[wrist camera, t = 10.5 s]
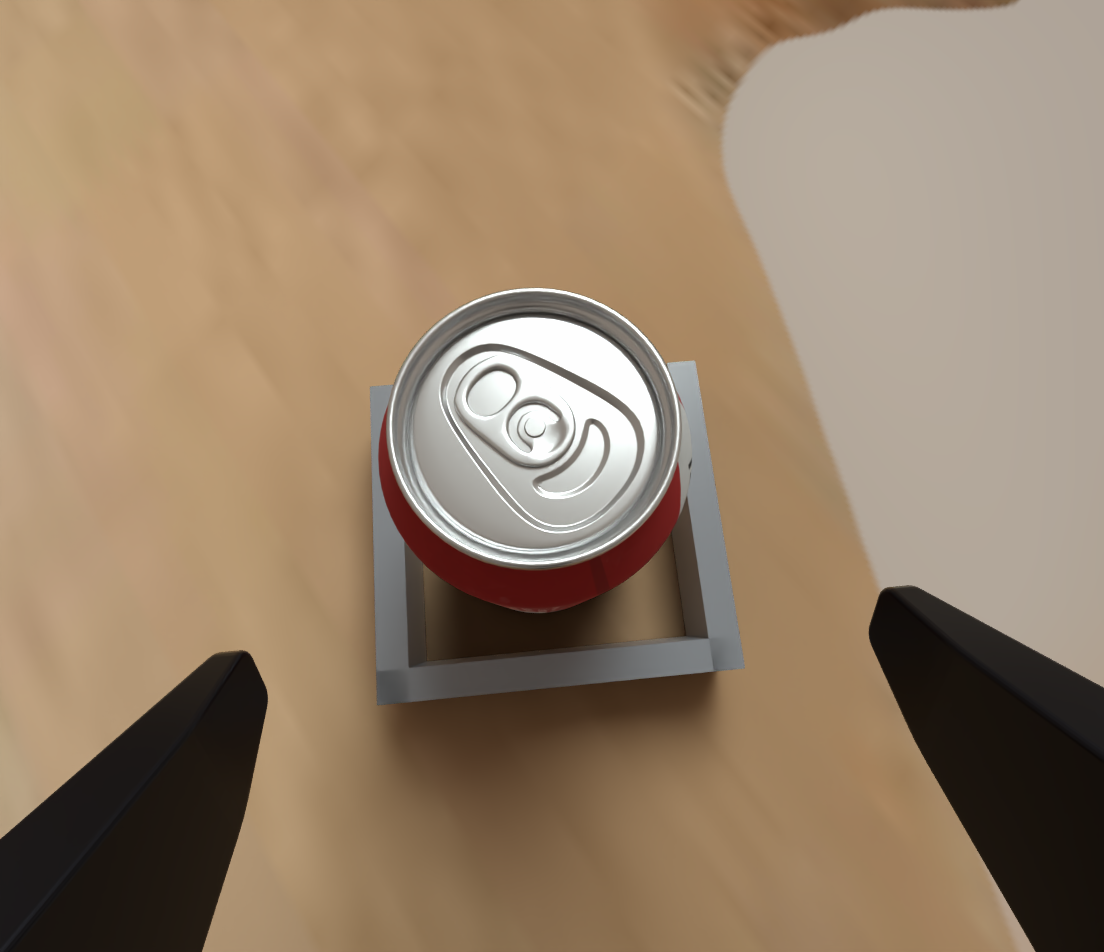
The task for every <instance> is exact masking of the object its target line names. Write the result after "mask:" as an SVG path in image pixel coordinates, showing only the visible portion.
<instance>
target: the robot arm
mask: <svg viewBox="0 0 1104 952" xmlns="http://www.w3.org/2000/svg"><path fill="white" fill-rule="evenodd" d="M869 639H870V643H871V645H872V648H873V650H874V652H875V655H876V657H877V659H878V661H879V663H880V666H881V668H882V670H883V672H884V674H885V677H886V679H887V681H888V683H889V686H890V688H891V690H892V692H893V694H894V697H895V699H896V701H897V703H898V706H899V708H900V710H901V712H902V714H903V717H904V719H905V721H906V723H907V725H908V728H909V730H910V732H911V734H912V736H913V738H914V740H915V742H916V744H917V746H918V748H919V749H920V751H921V753H922V755H923V757H924V759H925V760H926V762H927V764H928V766H929V767H930V769H931V771H932V773H933V774H934V776H935V778H936V780H937V781H938V783H939V785H940V786H941V788H942V790H943V792H944V793H945V795H946V797H947V799H948V800H949V802H950V804H951V806H952V807H953V809H954V811H955V813H956V814H957V816H958V818H959V819H960V821H961V823H962V825H963V826H964V828H965V830H966V832H967V833H968V835H969V837H970V839H971V840H972V842H973V844H974V846H975V847H976V849H977V851H978V852H979V854H980V856H981V858H982V859H983V861H984V863H985V865H986V866H987V868H988V870H989V872H990V873H991V875H992V877H993V879H994V880H995V882H996V884H997V885H998V887H999V889H1000V891H1001V892H1002V894H1003V896H1004V898H1005V899H1006V901H1007V903H1008V904H1009V906H1010V908H1011V910H1012V911H1013V913H1014V915H1015V917H1016V918H1017V920H1018V922H1019V924H1020V925H1021V927H1022V929H1023V930H1024V932H1025V934H1026V936H1027V937H1028V939H1029V941H1030V943H1031V945H1032V946H1033V948H1034V950H1035V951H1036V952H1104V688H1103V687H1101V686H1100V685H1098V684H1096V683H1094V682H1092V681H1090V680H1088V679H1086V678H1085V677H1083V676H1081V675H1079V674H1077V673H1076V672H1073V671H1072V670H1070V669H1068V668H1066V667H1064V666H1063V665H1061V664H1059V663H1057V662H1055V661H1053V660H1052V659H1050V658H1048V657H1046V656H1044V655H1042V654H1040V653H1039V652H1037V651H1035V650H1033V649H1031V648H1029V647H1027V646H1026V645H1023V644H1022V643H1020V642H1018V641H1016V640H1015V639H1013V638H1011V637H1009V636H1007V635H1005V634H1003V633H1002V632H1000V631H998V630H996V629H994V628H992V627H990V626H989V625H987V624H985V623H983V622H981V621H979V620H977V619H976V618H974V617H972V616H970V615H968V614H966V613H964V612H963V611H961V610H959V609H957V608H955V607H953V606H952V605H950V604H947V603H946V602H944V601H942V600H940V599H939V598H936V597H935V596H933V595H931V594H929V593H927V592H925V591H924V590H922V589H920V588H918V587H915V586H909V585H907V586H896V587H887V588H885V589H883V590H882V591H881V592H880V595H879V597H878V600H877V604H876V607H875V610H874V613H873V616H872V619H871V622H870V626H869ZM267 704H268V694H267V689H266V686H265V684H264V682H263V680H262V678H261V675H260V673H259V671H258V669H257V667H256V665H255V662H254V660H253V658H252V656H251V655H250V654H249V653H248V652H247V651H243V650H239V651H229V652H220V653H216V654H214V655H212V656H211V657H210V658H208V659H207V660H206V661H205V662H204V663H203V664H201V665H200V666H199V667H198V668H197V669H196V670H195V671H193V672H192V673H191V674H190V675H189V676H188V677H186V678H185V679H184V680H183V681H182V682H181V683H180V684H178V685H177V686H176V687H175V688H174V689H173V690H171V691H170V692H169V693H168V694H167V695H166V696H165V697H163V698H162V699H161V700H160V701H159V702H158V703H157V704H155V705H154V706H153V707H152V708H151V709H150V710H148V711H147V712H146V713H145V714H144V715H143V716H142V717H140V718H139V719H138V720H137V721H136V722H135V723H133V724H132V725H131V726H130V727H129V728H128V729H127V730H125V731H124V732H123V733H122V734H121V735H120V736H119V737H117V738H116V739H115V740H114V741H113V742H112V743H110V744H109V745H108V746H107V747H106V748H105V749H104V750H102V751H101V752H100V753H99V754H98V755H97V756H96V757H94V758H93V759H92V760H91V761H90V762H89V763H87V764H86V765H85V766H84V767H83V768H82V769H81V770H79V771H78V772H77V773H76V774H75V775H74V776H72V777H71V778H70V779H69V780H68V781H67V782H66V783H64V784H63V785H62V786H61V787H60V788H59V789H58V790H56V791H55V792H54V793H53V794H52V795H51V796H49V797H48V798H47V799H46V800H45V801H44V802H43V803H41V804H40V805H39V806H38V807H37V808H36V809H34V810H33V811H32V812H31V813H30V814H29V815H28V816H26V817H25V818H24V819H23V820H22V821H21V822H20V823H18V824H17V825H16V826H15V827H14V828H13V829H11V830H10V831H9V832H8V833H7V834H6V835H5V836H3V837H2V838H1V839H0V952H202V950H203V947H204V943H205V940H206V937H207V934H208V931H209V928H210V924H211V921H212V918H213V915H214V912H215V909H216V905H217V902H218V899H219V896H220V893H221V890H222V886H223V883H224V880H225V877H226V874H227V871H228V867H229V864H230V861H231V858H232V855H233V852H234V848H235V845H236V842H237V839H238V836H239V832H240V829H241V825H242V822H243V819H244V815H245V810H246V806H247V802H248V798H249V793H250V788H251V783H252V778H253V773H254V768H255V763H256V759H257V754H258V749H259V744H260V739H261V734H262V729H263V724H264V719H265V715H266V710H267Z"/></svg>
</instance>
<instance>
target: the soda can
mask: <svg viewBox="0 0 1104 952" xmlns="http://www.w3.org/2000/svg"><path fill="white" fill-rule="evenodd" d="M378 464H379V476H380V482H381V488H382V492H383V496H384V499H385V503H386V505H387V508H388V511H389V513H390V516H391V518H392V520H393V522H394V524H395V526H396V528H397V530H398V532H399V533H400V535H401V536H402V538H403V539H404V541H405V542H406V544H407V545H408V546H409V548H410V549H411V550H412V551H413V553H414V554H415V555H416V556H417V557H418V558H419V559H420V560H421V561H422V562H423V563H424V564H425V565H426V566H427V567H428V568H429V569H430V570H431V571H433V572H434V573H435V574H436V575H437V576H439V577H440V578H441V579H443V580H444V581H446V582H447V583H449V584H450V585H452V586H454V587H455V588H457V589H459V590H461V591H463V592H465V593H467V594H469V595H472V596H474V597H477V598H479V599H482V600H484V601H488V602H491V603H494V604H497V605H500V606H503V607H506V608H510V609H513V610H517V611H522V612H527V613H549V612H556V611H560V610H564V609H567V608H570V607H573V606H575V605H578V604H580V603H582V602H585V601H587V600H589V599H591V598H594V597H596V596H598V595H600V594H602V593H605V592H607V591H609V590H611V589H612V588H614V587H616V586H618V585H619V584H621V583H623V582H624V581H626V580H627V579H628V578H630V577H631V576H632V575H634V574H635V573H636V572H637V571H639V570H640V569H641V568H642V567H643V566H644V565H645V564H646V563H647V562H648V561H649V560H650V559H651V558H652V557H653V556H654V555H655V554H656V553H657V551H658V550H659V549H660V548H661V546H662V545H663V543H664V542H665V541H666V539H667V538H668V536H669V535H670V533H671V531H672V529H673V528H674V526H675V524H676V522H677V520H678V518H679V516H680V513H681V511H682V509H683V506H684V503H685V500H686V497H687V493H688V488H689V484H690V477H691V469H692V444H691V435H690V429H689V424H688V420H687V417H686V413H685V410H684V407H683V404H682V402H681V399H680V397H679V395H678V393H677V390H676V387H675V384H674V381H673V379H672V376H671V374H670V371H669V369H668V367H667V366H666V364H665V362H664V360H663V358H662V357H661V355H660V354H659V352H658V351H657V349H656V348H655V346H654V345H653V344H652V343H651V341H650V340H649V339H648V338H647V337H646V336H645V335H644V334H643V333H642V332H641V330H640V329H639V328H638V327H636V326H635V325H634V324H633V323H632V322H630V321H629V320H628V319H627V318H625V317H624V316H623V315H621V314H620V313H618V312H617V311H615V310H613V309H612V308H610V307H608V306H606V305H605V304H603V303H600V302H598V301H596V300H594V299H591V298H589V297H586V296H583V295H580V294H577V293H573V292H569V291H564V290H558V289H551V288H519V289H510V290H505V291H500V292H496V293H492V294H489V295H485V296H483V297H480V298H478V299H475V300H472V301H470V302H468V303H466V304H464V305H462V306H460V307H458V308H457V309H455V310H454V311H452V312H450V313H449V314H447V315H446V316H445V317H443V318H442V319H441V320H439V321H438V322H437V323H436V324H434V325H433V326H432V327H431V328H430V329H429V330H428V331H427V332H426V333H425V334H424V335H423V336H422V337H421V338H420V339H419V341H418V342H417V343H416V344H415V346H414V347H413V348H412V350H411V351H410V352H409V354H408V356H407V357H406V359H405V361H404V362H403V364H402V366H401V368H400V370H399V372H398V374H397V376H396V379H395V382H394V385H393V387H392V391H391V395H390V399H389V403H388V406H387V409H386V411H385V414H384V418H383V422H382V426H381V431H380V438H379V449H378Z"/></svg>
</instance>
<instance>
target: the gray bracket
mask: <svg viewBox="0 0 1104 952" xmlns="http://www.w3.org/2000/svg"><path fill="white" fill-rule="evenodd" d="M666 366H667V367H668V369H669V371H670V374H671V376H672V379H673V381H674V384H675V387H676V390H677V393H678V395H679V397H680V399H681V402H682V404H683V407H684V410H685V413H686V417H687V420H688V424H689V429H690V435H691V444H692V469H691V477H690V484H689V488H688V493H687V497H686V500H685V503H684V506H683V509H682V511H681V513H680V516H679V518H678V520H677V522H676V524H675V526H674V528H673V529H672V531H671V532H672V539H673V546H674V553H675V560H676V567H677V574H678V581H679V589H680V596H681V603H682V610H683V617H684V624H685V631H686V636H681V637H671V638H660V639H650V640H640V641H630V642H620V643H609V644H599V645H589V646H579V647H569V648H558V649H548V650H538V651H528V652H518V653H508V654H497V655H487V656H477V657H467V658H457V659H446V660H436V661H427V654H426V630H425V605H424V581H423V562H422V561H421V560H420V559H419V558H418V557H417V556H416V555H415V554H414V553H413V551H412V550H411V549H410V548H409V546H408V545H407V544H406V542H405V541H404V539H403V538H402V536H401V535H400V533H399V532H398V530H397V528H396V526H395V524H394V522H393V520H392V518H391V516H390V513H389V511H388V508H387V505H386V503H385V499H384V496H383V492H382V488H381V482H380V476H379V464H378V449H379V438H380V431H381V426H382V422H383V418H384V414H385V411H386V409H387V406H388V403H389V399H390V395H391V391H392V387H393V385H384V386H372V387H370V409H371V454H372V499H373V544H374V590H375V635H376V680H377V705H385V704H395V703H405V702H415V701H425V700H435V699H445V698H455V697H465V696H475V695H485V694H495V693H505V692H515V691H524V690H534V689H544V688H554V687H564V686H574V685H584V684H594V683H604V682H614V681H624V680H634V679H644V678H654V677H664V676H673V675H683V674H693V673H703V672H713V671H723V670H733V669H743V668H745V665H744V659H743V653H742V647H741V640H740V634H739V628H738V622H737V616H736V610H735V604H734V597H733V591H732V585H731V579H730V573H729V567H728V560H727V554H726V548H725V542H724V536H723V530H722V524H721V517H720V511H719V505H718V499H717V493H716V487H715V481H714V474H713V468H712V462H711V456H710V450H709V444H708V437H707V431H706V425H705V419H704V413H703V407H702V401H701V394H700V388H699V382H698V376H697V370H696V364H695V361H685V362H673V363H667V365H666Z"/></svg>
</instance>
